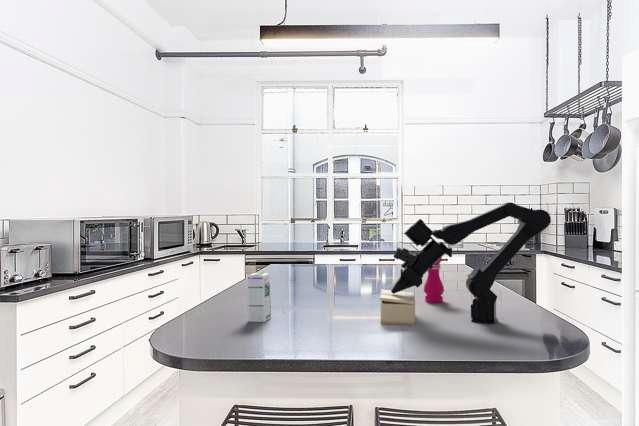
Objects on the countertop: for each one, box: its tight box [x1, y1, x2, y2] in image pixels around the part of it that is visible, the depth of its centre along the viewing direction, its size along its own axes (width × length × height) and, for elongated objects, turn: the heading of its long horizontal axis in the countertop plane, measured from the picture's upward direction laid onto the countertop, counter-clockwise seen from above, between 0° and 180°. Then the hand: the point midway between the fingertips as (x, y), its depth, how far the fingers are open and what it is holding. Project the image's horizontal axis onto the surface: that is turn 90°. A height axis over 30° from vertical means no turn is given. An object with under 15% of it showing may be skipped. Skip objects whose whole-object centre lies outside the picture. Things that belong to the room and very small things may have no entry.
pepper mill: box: [423, 256, 445, 304], centre depth 169 cm, size 7×7×20 cm
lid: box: [379, 288, 416, 305], centre depth 143 cm, size 10×14×1 cm
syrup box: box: [246, 272, 272, 323], centre depth 145 cm, size 6×6×14 cm
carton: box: [380, 300, 416, 326], centre depth 143 cm, size 10×14×6 cm
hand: (392, 292), depth 144 cm, fingers closed
